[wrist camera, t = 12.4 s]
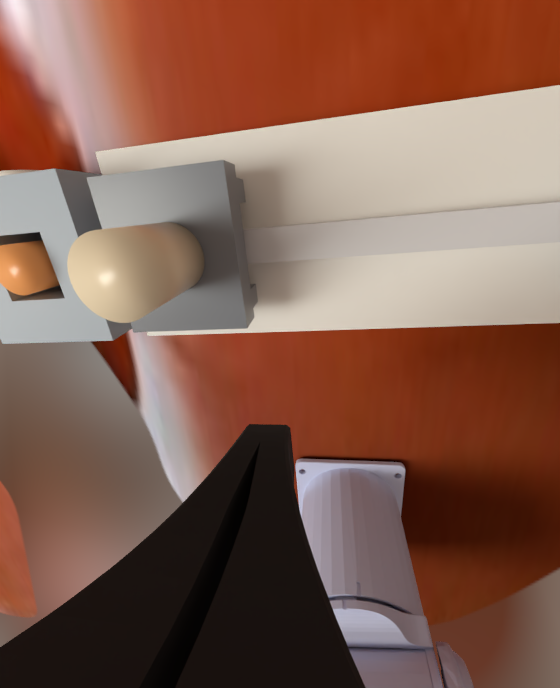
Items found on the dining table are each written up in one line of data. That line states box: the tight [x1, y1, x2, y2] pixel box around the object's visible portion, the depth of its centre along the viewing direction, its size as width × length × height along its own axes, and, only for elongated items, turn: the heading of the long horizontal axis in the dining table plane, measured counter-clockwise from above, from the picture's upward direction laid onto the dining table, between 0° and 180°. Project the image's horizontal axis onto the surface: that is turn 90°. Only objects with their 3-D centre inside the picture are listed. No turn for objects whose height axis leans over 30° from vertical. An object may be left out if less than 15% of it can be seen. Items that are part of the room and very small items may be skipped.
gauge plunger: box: [0, 240, 60, 295], centre depth 16 cm, size 2×2×4 cm
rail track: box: [95, 85, 560, 336], centre depth 15 cm, size 10×24×4 cm, turn 95°
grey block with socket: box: [0, 169, 132, 344], centre depth 17 cm, size 8×7×4 cm
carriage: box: [67, 160, 258, 332], centre depth 13 cm, size 7×6×7 cm
